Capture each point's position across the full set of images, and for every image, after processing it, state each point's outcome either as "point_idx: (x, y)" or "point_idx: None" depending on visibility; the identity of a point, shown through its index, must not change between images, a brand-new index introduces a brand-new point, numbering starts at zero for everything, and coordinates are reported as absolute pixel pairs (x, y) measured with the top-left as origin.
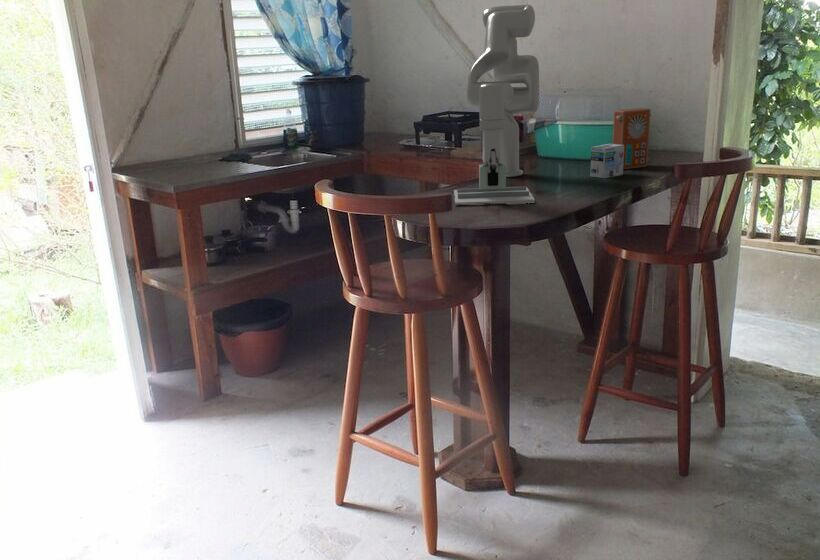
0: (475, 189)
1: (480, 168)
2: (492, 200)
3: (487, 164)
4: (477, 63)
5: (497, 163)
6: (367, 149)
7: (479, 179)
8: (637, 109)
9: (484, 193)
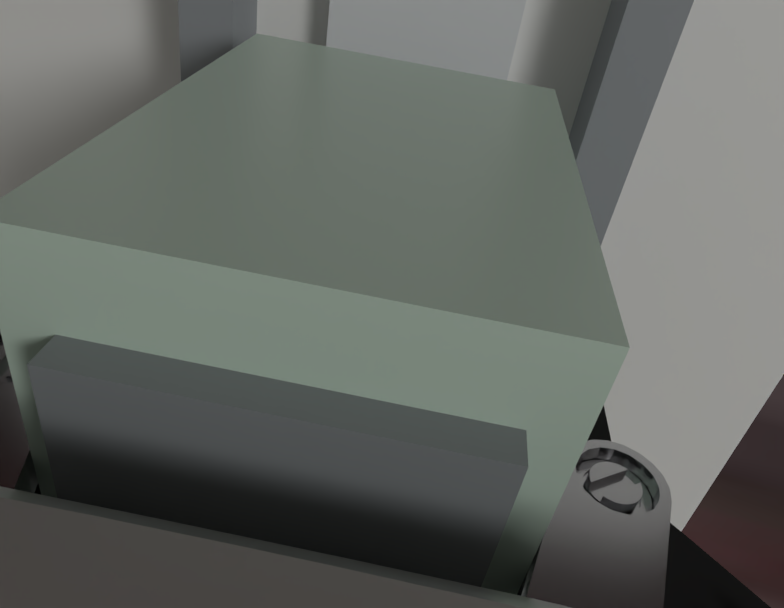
0: (625, 11)
1: (7, 215)
2: (10, 118)
3: (208, 521)
4: None
5: None
6: None
7: (418, 114)
8: None
9: (184, 76)
